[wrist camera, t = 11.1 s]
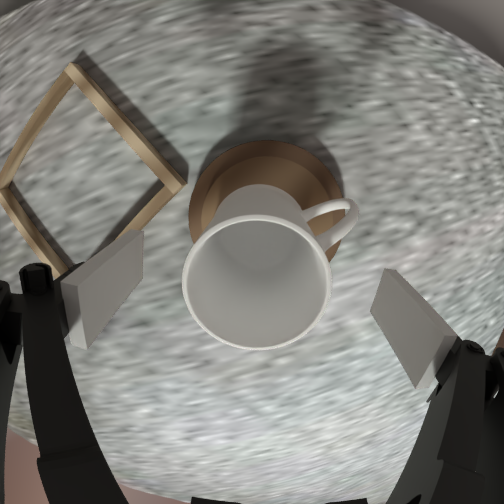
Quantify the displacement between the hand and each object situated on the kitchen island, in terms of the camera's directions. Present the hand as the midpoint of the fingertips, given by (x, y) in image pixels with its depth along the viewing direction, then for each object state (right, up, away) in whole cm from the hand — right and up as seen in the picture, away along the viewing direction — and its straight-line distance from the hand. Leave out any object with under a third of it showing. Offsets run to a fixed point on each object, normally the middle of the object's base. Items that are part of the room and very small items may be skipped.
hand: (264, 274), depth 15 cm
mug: (+2, +4, +11) cm, 12 cm away
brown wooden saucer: (+1, +5, +14) cm, 15 cm away
